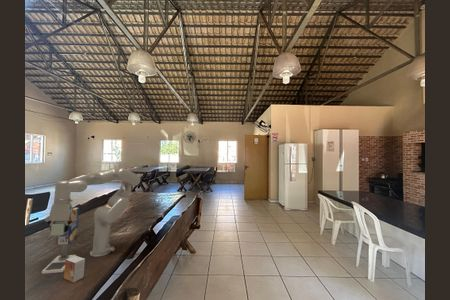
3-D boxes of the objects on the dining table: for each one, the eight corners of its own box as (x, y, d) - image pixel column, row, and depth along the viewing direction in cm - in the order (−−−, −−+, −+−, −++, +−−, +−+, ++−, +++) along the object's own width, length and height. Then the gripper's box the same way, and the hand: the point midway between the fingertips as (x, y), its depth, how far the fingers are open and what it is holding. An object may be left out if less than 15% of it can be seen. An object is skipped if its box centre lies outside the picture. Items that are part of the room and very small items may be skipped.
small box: (63, 278, 113) (65, 259, 114) (74, 273, 118) (75, 255, 119) (73, 282, 110) (74, 262, 111) (83, 277, 116) (85, 258, 116)
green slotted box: (67, 231, 127) (68, 221, 127) (62, 235, 121) (63, 224, 121) (55, 231, 125) (56, 221, 125) (50, 235, 119) (51, 224, 120)
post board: (57, 258, 134) (58, 243, 134) (75, 257, 137) (76, 242, 137) (41, 273, 117) (43, 256, 117) (62, 272, 119) (63, 255, 120)
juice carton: (68, 244, 154) (71, 211, 155) (57, 244, 153) (59, 211, 154) (76, 237, 166) (79, 207, 167) (66, 237, 165) (68, 207, 166)
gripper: (81, 200, 130) (78, 229, 129) (48, 200, 125) (45, 230, 124) (76, 202, 123) (73, 233, 122) (41, 202, 118) (38, 234, 117)
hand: (59, 231), depth 123 cm, fingers closed on green slotted box, 6 cm apart
